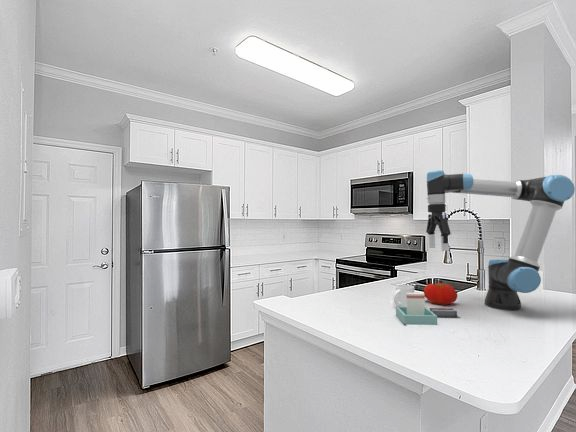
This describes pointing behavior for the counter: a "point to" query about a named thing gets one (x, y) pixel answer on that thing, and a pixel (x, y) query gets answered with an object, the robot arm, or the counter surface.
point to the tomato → (440, 293)
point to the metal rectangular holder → (444, 312)
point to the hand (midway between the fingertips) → (438, 249)
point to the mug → (402, 294)
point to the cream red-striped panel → (415, 304)
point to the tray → (416, 317)
